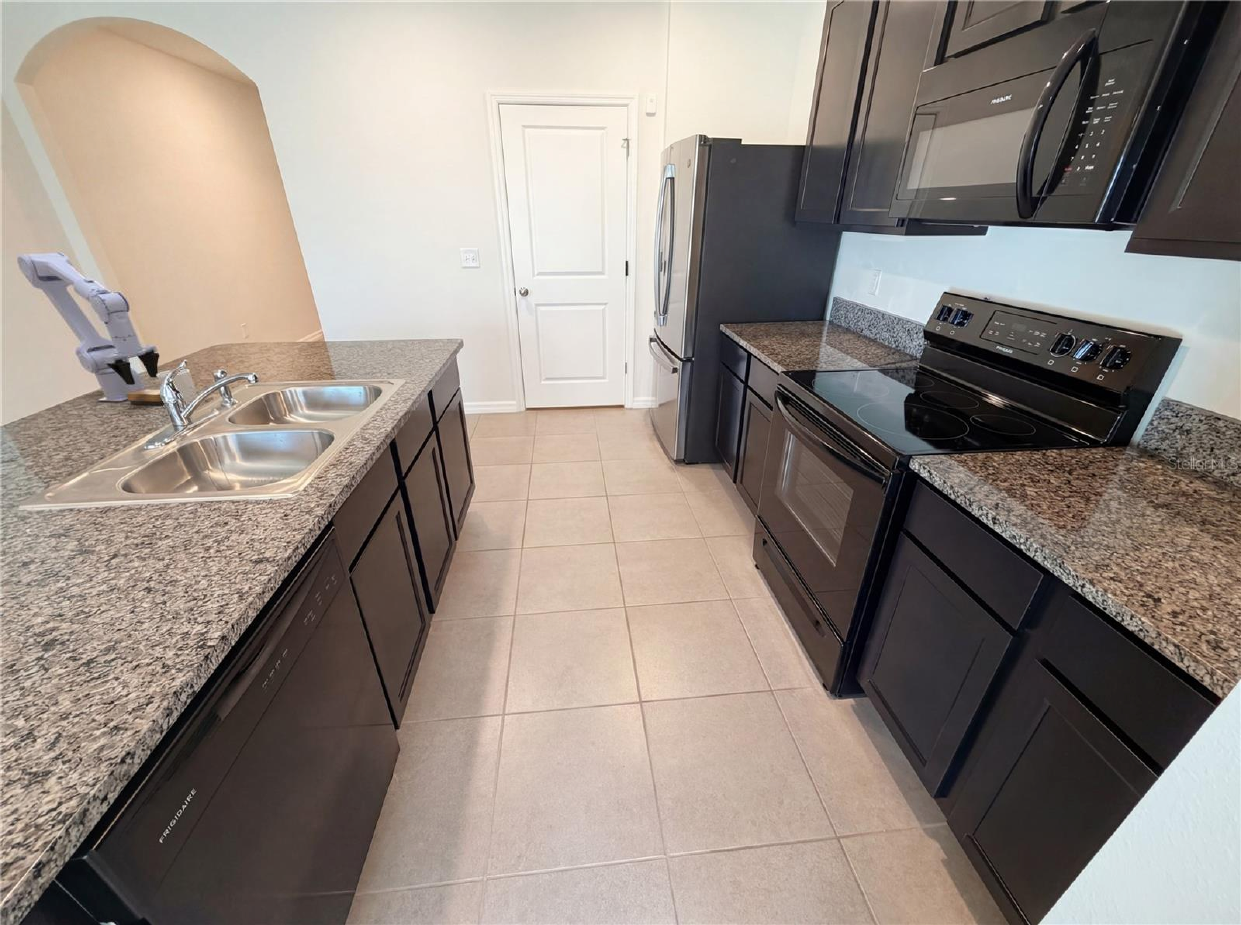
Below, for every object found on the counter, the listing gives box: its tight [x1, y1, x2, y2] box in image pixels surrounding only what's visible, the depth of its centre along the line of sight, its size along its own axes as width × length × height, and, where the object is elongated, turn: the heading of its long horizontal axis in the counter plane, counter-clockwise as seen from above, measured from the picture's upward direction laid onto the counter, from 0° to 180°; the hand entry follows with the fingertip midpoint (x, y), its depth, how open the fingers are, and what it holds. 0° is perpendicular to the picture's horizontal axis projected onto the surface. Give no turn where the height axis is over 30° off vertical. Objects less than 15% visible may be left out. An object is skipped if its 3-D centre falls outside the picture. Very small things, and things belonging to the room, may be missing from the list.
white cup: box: [156, 368, 198, 403], centre depth 155 cm, size 8×8×10 cm
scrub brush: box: [126, 388, 165, 406], centre depth 157 cm, size 11×4×4 cm, turn 85°
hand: (143, 380), depth 155 cm, fingers open, 7 cm apart
